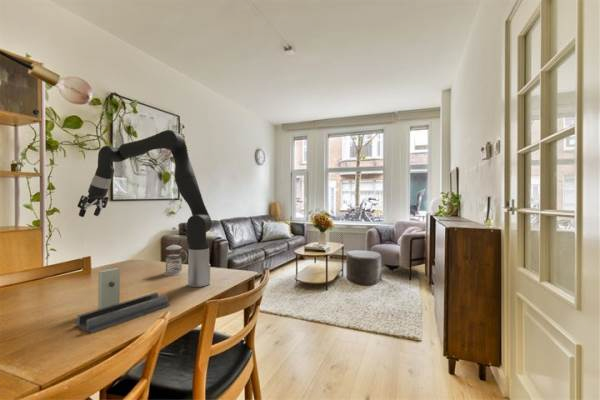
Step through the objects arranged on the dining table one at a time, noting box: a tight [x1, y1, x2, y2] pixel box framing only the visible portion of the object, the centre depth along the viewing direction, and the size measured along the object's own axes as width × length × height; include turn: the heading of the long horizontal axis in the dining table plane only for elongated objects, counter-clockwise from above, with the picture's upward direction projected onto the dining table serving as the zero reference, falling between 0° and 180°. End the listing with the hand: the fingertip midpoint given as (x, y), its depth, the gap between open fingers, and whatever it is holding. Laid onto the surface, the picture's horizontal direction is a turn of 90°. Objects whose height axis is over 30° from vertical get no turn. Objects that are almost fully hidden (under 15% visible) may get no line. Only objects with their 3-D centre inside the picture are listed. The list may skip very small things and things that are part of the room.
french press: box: [163, 226, 188, 276], centre depth 152 cm, size 10×12×25 cm
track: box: [75, 292, 171, 334], centre depth 97 cm, size 26×10×4 cm, turn 150°
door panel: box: [97, 267, 121, 310], centre depth 103 cm, size 6×4×14 cm, turn 150°
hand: (88, 215), depth 138 cm, fingers open, 8 cm apart
